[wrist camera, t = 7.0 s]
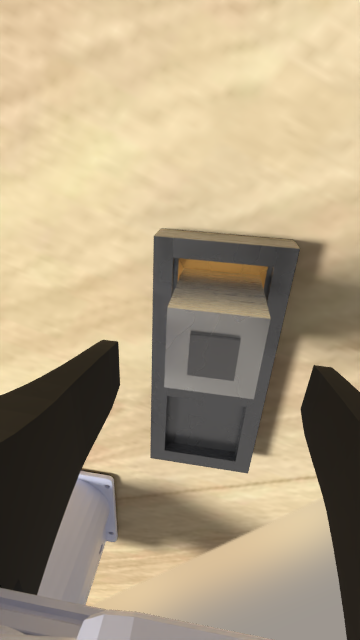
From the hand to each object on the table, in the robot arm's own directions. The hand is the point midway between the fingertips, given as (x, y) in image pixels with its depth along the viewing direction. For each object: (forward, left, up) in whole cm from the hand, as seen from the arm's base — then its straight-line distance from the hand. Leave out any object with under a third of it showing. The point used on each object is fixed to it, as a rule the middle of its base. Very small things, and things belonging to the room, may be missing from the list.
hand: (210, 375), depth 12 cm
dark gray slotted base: (-4, 0, -8) cm, 9 cm away
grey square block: (0, 0, -7) cm, 7 cm away
